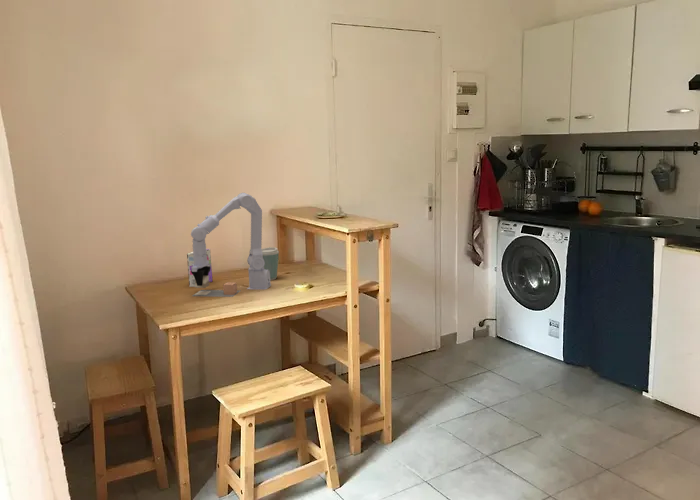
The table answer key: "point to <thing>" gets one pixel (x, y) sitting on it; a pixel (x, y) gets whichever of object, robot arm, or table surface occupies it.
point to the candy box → (190, 262)
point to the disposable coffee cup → (271, 261)
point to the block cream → (205, 282)
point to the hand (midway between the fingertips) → (202, 284)
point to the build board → (213, 293)
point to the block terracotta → (230, 288)
